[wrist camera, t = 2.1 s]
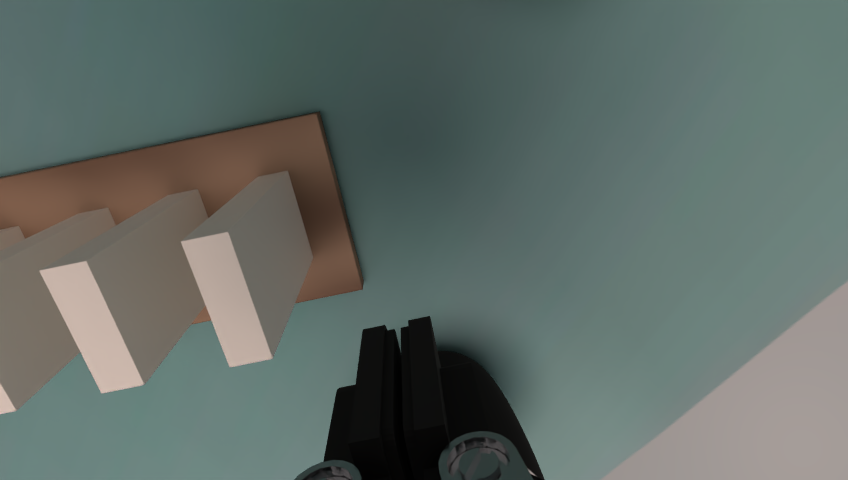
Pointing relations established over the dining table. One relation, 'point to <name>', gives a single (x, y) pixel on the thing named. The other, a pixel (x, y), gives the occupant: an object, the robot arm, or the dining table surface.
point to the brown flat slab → (203, 189)
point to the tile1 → (251, 266)
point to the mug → (496, 410)
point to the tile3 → (37, 307)
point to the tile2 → (131, 291)
